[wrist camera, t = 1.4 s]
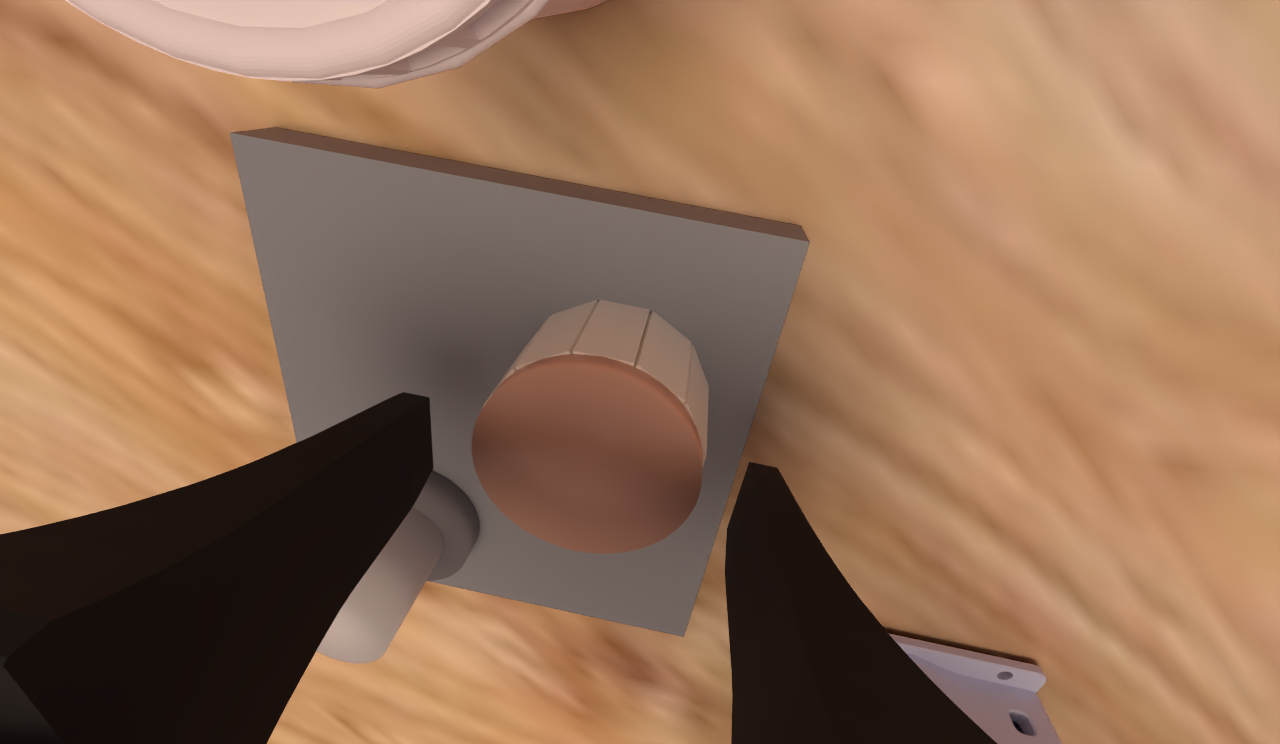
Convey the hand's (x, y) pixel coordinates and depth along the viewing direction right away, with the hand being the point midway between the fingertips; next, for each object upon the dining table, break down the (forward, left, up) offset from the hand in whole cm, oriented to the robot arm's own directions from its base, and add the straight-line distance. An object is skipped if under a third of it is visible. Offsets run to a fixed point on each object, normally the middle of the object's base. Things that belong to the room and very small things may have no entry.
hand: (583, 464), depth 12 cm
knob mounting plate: (+3, +3, -5) cm, 6 cm away
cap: (0, 0, -3) cm, 3 cm away
